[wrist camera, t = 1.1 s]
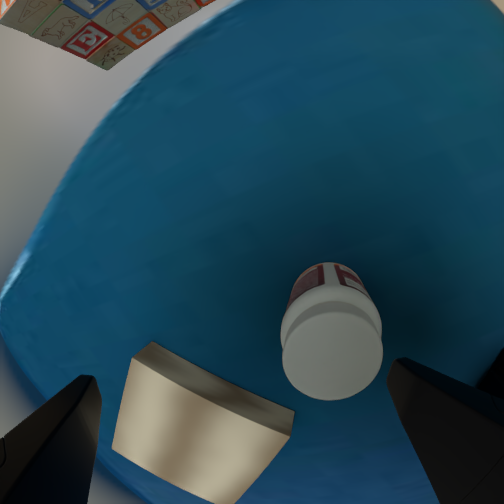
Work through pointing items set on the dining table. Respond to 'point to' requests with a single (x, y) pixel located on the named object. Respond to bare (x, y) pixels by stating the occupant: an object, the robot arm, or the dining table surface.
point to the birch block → (196, 426)
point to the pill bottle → (331, 333)
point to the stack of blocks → (96, 24)
